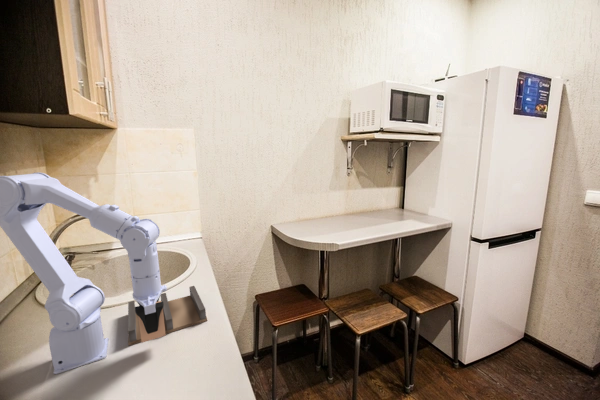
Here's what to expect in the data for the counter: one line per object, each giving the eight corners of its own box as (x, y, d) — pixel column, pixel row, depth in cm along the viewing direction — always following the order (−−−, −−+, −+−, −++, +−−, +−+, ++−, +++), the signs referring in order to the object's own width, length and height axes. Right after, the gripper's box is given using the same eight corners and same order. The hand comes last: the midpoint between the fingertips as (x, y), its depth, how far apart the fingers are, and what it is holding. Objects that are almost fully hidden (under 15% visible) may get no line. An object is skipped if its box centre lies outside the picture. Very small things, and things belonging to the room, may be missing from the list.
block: (141, 342, 64) (138, 315, 63) (141, 333, 67) (137, 306, 66) (165, 335, 67) (162, 308, 65) (163, 326, 70) (161, 300, 69)
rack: (128, 345, 69) (126, 331, 68) (129, 314, 83) (127, 302, 82) (207, 320, 79) (206, 308, 78) (195, 296, 92) (195, 285, 92)
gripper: (168, 281, 60) (174, 337, 62) (161, 259, 72) (166, 307, 75) (130, 289, 56) (138, 349, 59) (130, 265, 69) (136, 315, 71)
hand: (151, 326), depth 67 cm, fingers closed on block, 4 cm apart
